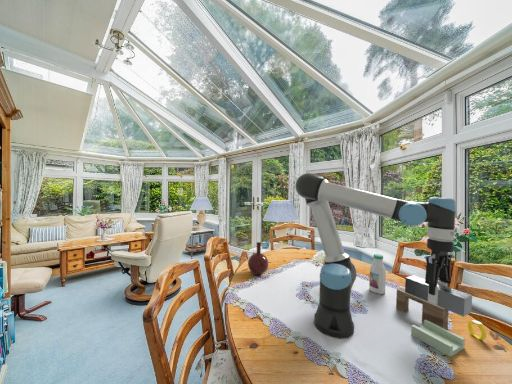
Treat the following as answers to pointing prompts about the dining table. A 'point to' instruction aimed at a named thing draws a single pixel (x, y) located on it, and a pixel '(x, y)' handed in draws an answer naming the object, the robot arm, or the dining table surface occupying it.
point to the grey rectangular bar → (440, 295)
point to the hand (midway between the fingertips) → (437, 300)
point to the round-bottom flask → (258, 261)
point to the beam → (423, 308)
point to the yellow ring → (479, 327)
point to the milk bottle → (377, 275)
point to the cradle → (439, 338)
